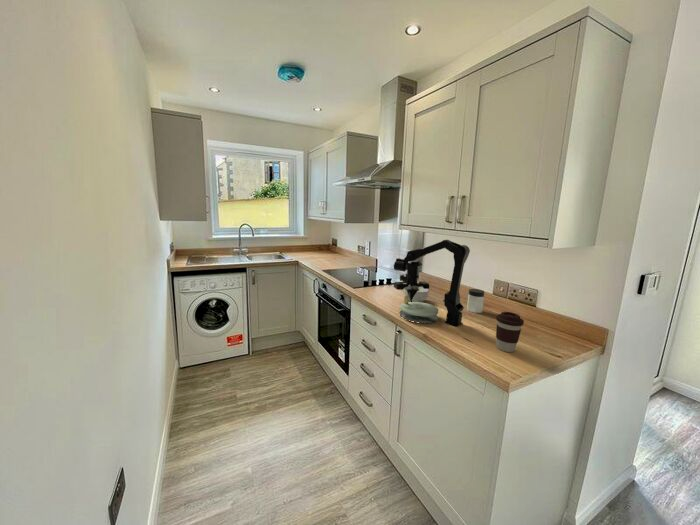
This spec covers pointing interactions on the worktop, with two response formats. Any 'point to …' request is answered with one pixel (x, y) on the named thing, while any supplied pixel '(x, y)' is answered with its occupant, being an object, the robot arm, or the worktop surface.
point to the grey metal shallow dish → (419, 318)
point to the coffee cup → (508, 331)
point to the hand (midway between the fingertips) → (410, 300)
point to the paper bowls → (418, 294)
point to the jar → (475, 300)
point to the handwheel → (418, 308)
